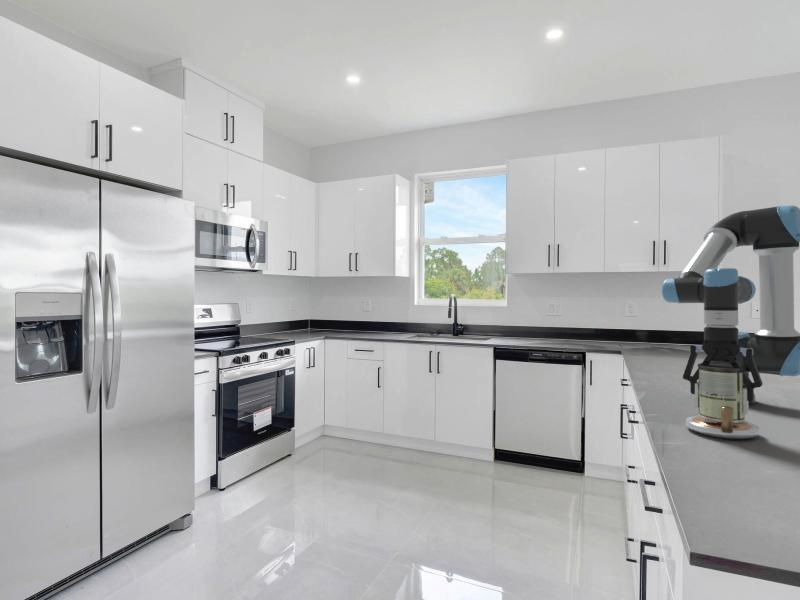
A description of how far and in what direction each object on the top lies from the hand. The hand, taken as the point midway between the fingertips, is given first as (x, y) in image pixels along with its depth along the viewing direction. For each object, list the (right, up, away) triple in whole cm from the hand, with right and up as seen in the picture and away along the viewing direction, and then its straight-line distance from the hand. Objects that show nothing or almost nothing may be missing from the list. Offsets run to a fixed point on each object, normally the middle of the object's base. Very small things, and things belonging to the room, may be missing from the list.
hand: (721, 409), depth 123 cm
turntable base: (0, -6, 0) cm, 6 cm away
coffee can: (0, -2, 0) cm, 2 cm away
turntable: (0, -5, 0) cm, 5 cm away
